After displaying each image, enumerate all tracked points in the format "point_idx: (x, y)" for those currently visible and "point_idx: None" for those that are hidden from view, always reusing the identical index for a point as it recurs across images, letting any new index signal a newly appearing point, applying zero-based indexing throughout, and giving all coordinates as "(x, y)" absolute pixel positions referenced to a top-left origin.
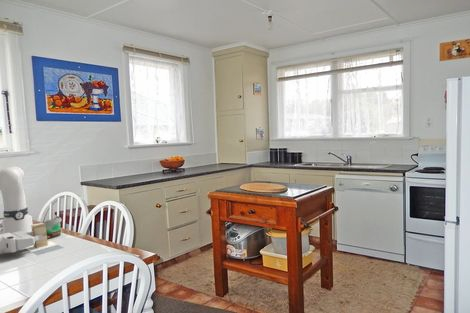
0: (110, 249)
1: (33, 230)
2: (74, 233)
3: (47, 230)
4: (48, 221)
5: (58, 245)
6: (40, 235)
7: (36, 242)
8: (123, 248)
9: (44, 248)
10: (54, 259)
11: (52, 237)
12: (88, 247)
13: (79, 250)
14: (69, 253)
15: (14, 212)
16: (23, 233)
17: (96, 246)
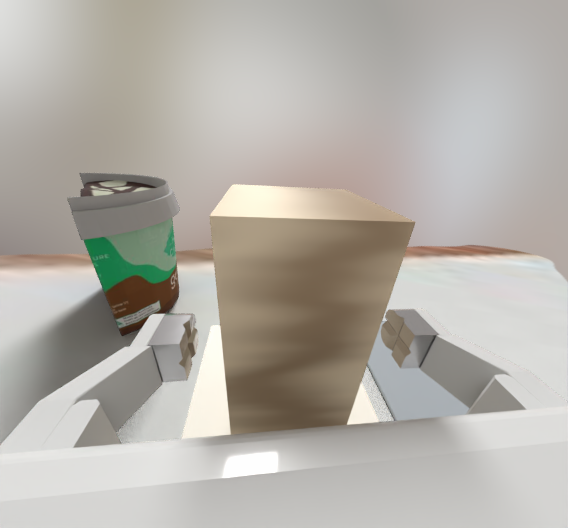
0: (512, 261)
1: (310, 300)
2: (212, 254)
3: (144, 267)
4: (144, 193)
5: None
6: (433, 319)
7: (350, 409)
8: (508, 250)
9: (385, 396)
10: None
11: (171, 301)
12: (463, 278)
13: (502, 300)
14: (553, 332)
15: None
16: (199, 519)
17: (459, 266)
